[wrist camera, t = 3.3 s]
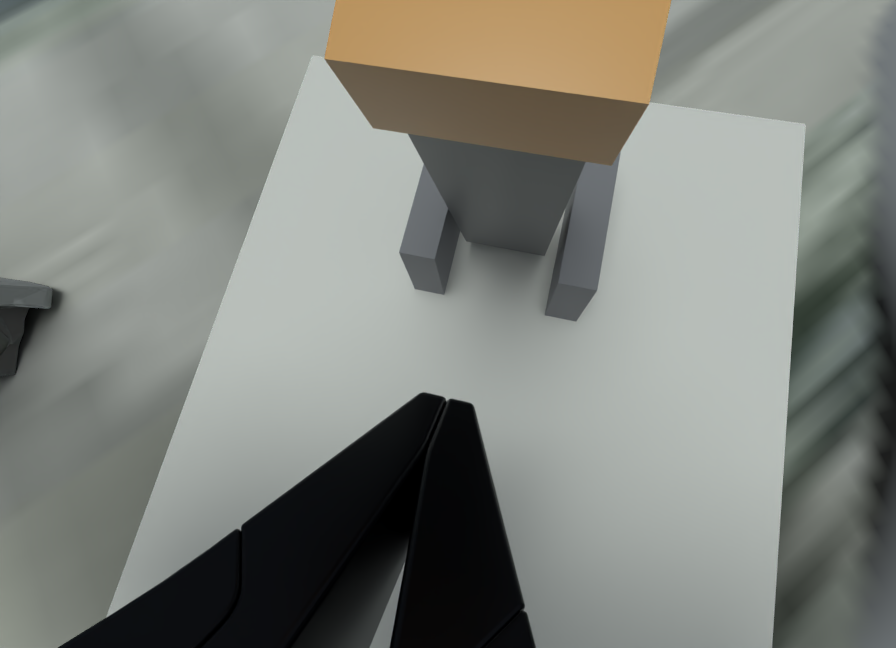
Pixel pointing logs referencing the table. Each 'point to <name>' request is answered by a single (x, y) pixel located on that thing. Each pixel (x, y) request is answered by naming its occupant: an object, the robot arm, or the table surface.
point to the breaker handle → (502, 96)
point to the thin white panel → (520, 366)
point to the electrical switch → (17, 316)
